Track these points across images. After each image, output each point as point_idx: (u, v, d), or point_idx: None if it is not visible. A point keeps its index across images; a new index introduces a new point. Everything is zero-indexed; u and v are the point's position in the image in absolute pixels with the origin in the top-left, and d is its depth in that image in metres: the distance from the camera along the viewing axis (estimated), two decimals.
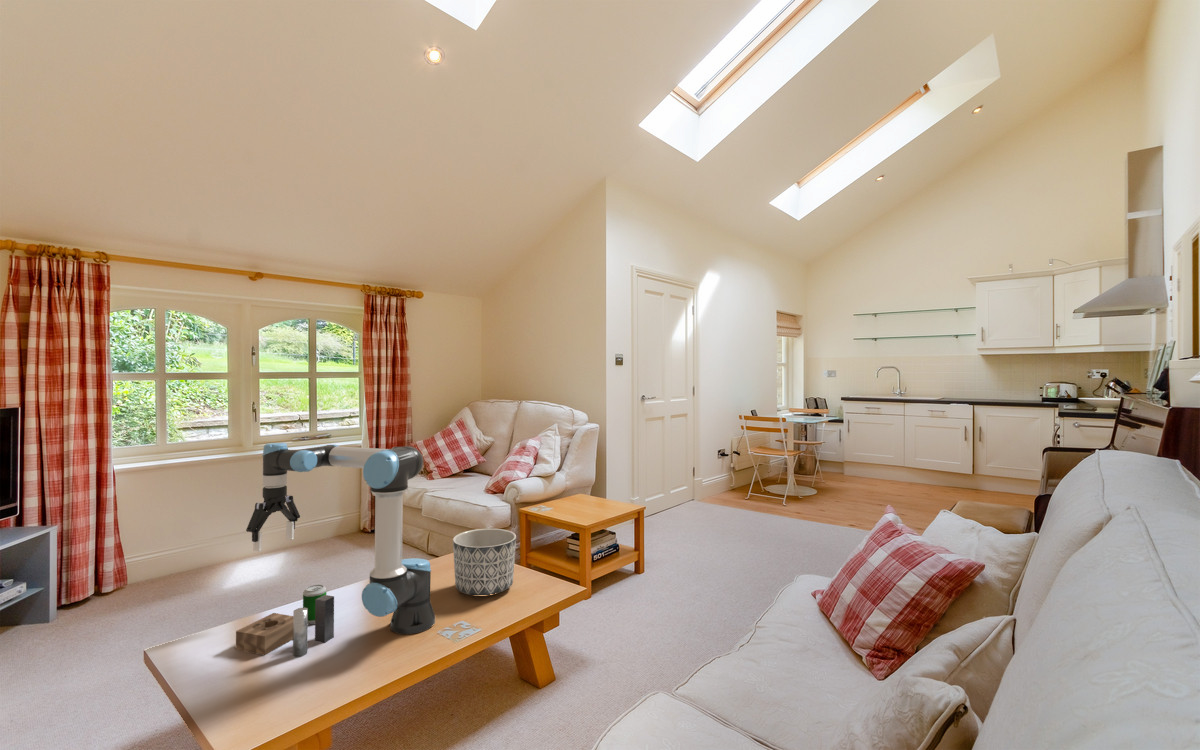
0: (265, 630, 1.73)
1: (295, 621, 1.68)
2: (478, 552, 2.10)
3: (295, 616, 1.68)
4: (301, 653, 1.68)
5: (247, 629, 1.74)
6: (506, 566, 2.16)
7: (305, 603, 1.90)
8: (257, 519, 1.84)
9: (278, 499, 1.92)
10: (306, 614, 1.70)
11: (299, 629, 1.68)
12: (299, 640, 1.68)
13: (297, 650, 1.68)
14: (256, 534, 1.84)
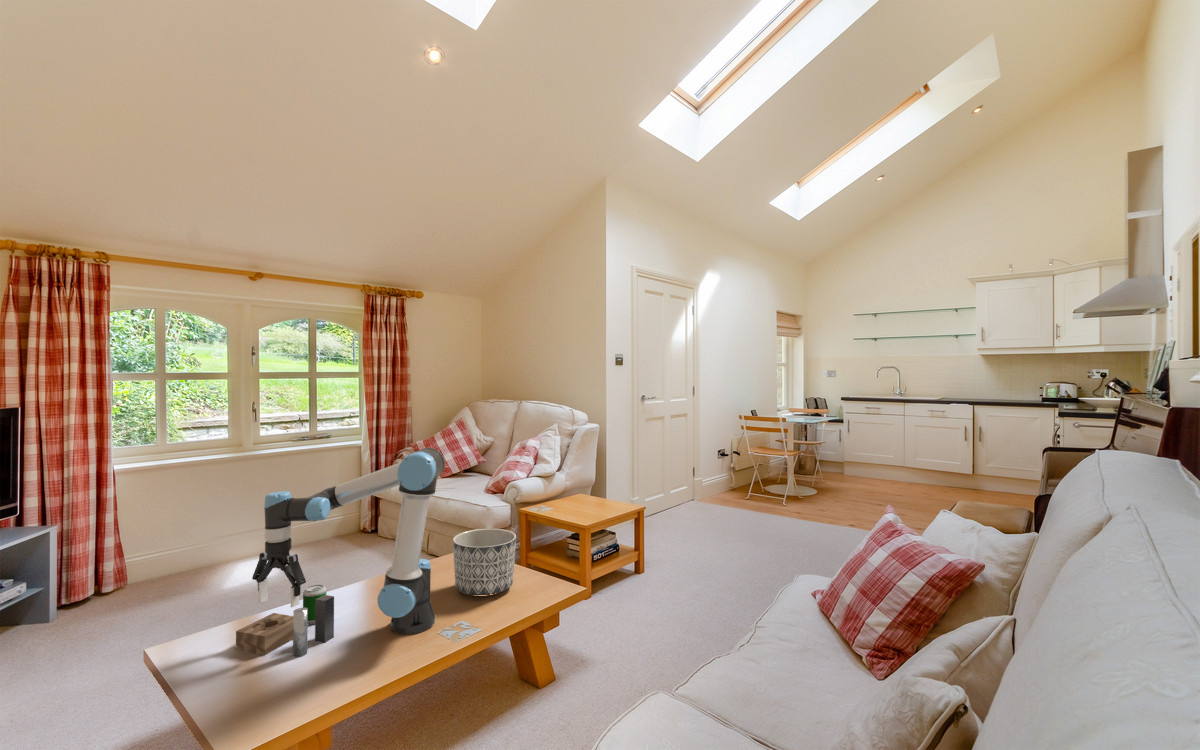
0: (265, 630, 1.73)
1: (295, 621, 1.68)
2: (478, 552, 2.10)
3: (295, 616, 1.68)
4: (301, 653, 1.68)
5: (247, 629, 1.74)
6: (506, 566, 2.16)
7: (305, 603, 1.90)
8: (257, 568, 1.77)
9: (277, 555, 1.75)
10: (306, 614, 1.70)
11: (299, 629, 1.68)
12: (299, 640, 1.68)
13: (297, 650, 1.68)
14: (258, 583, 1.77)
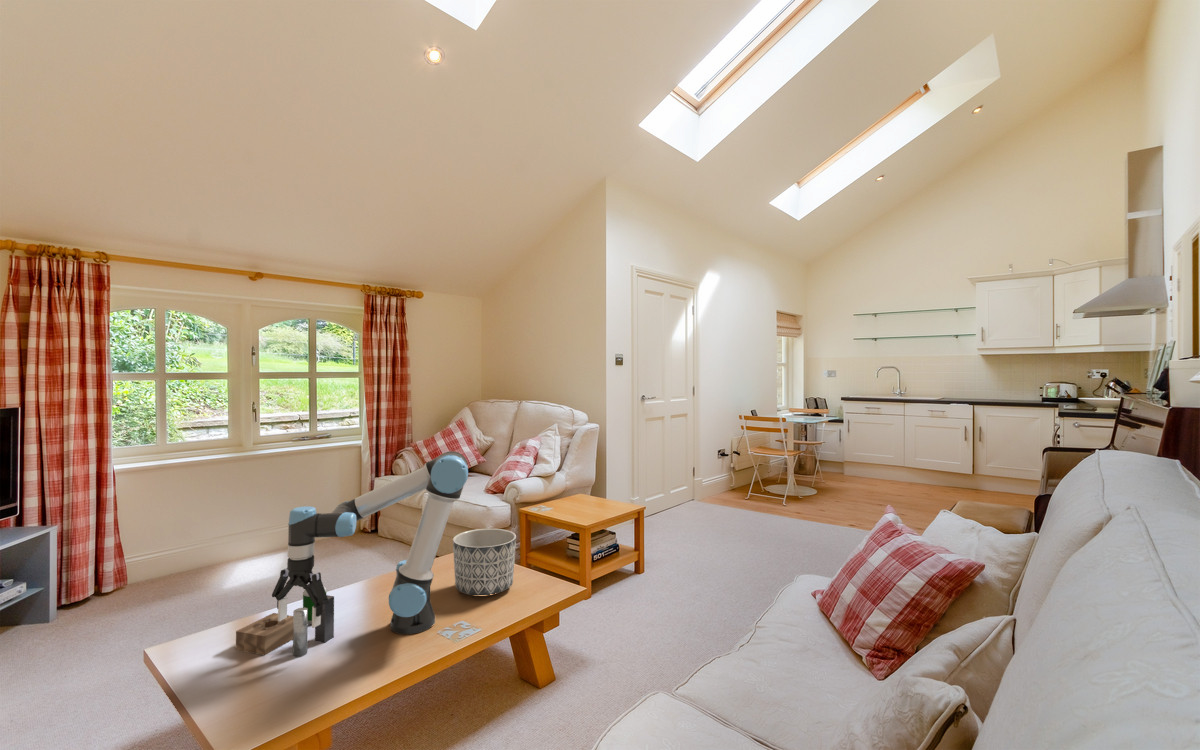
0: (265, 630, 1.73)
1: (295, 621, 1.68)
2: (478, 552, 2.10)
3: (295, 616, 1.68)
4: (301, 653, 1.68)
5: (247, 629, 1.74)
6: (506, 566, 2.16)
7: (305, 603, 1.90)
8: (277, 585, 1.71)
9: (299, 573, 1.69)
10: (306, 614, 1.70)
11: (299, 629, 1.68)
12: (299, 640, 1.68)
13: (297, 650, 1.68)
14: None
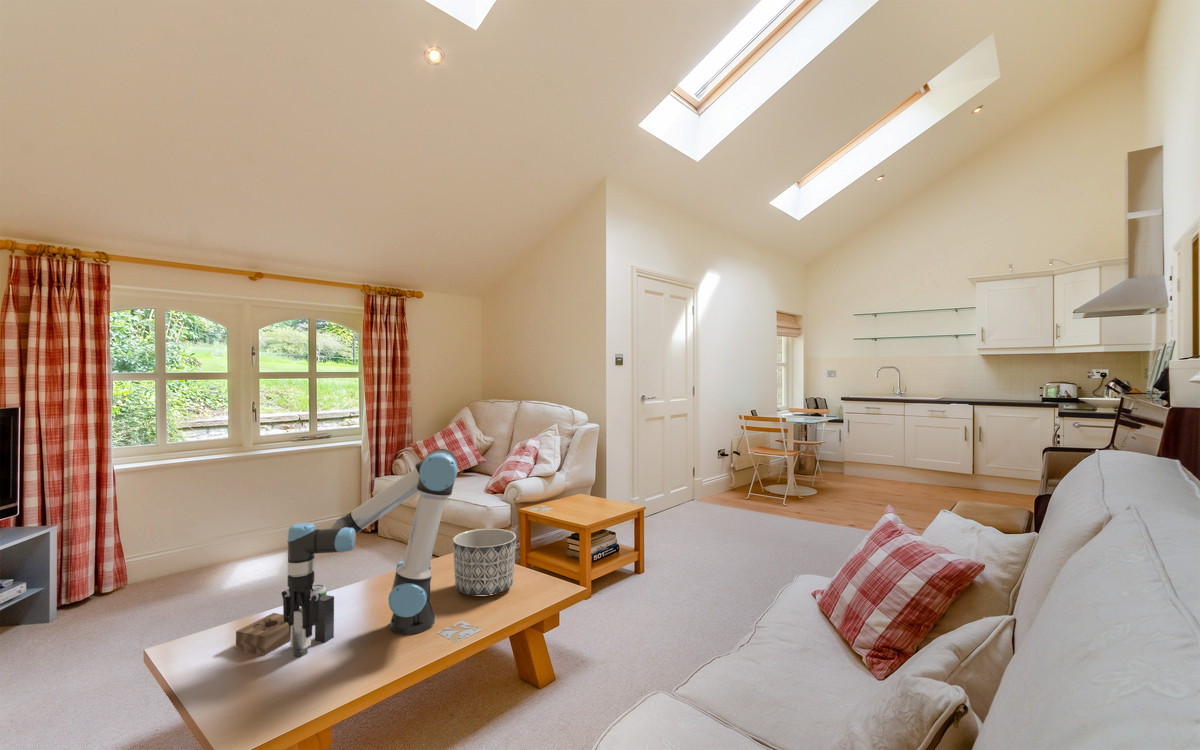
0: (265, 630, 1.73)
1: (295, 621, 1.68)
2: (478, 552, 2.10)
3: (295, 616, 1.68)
4: (301, 653, 1.69)
5: (247, 629, 1.74)
6: (506, 566, 2.16)
7: None
8: (284, 609, 1.70)
9: (299, 589, 1.69)
10: None
11: (299, 629, 1.68)
12: (299, 640, 1.68)
13: (298, 649, 1.68)
14: (290, 626, 1.70)
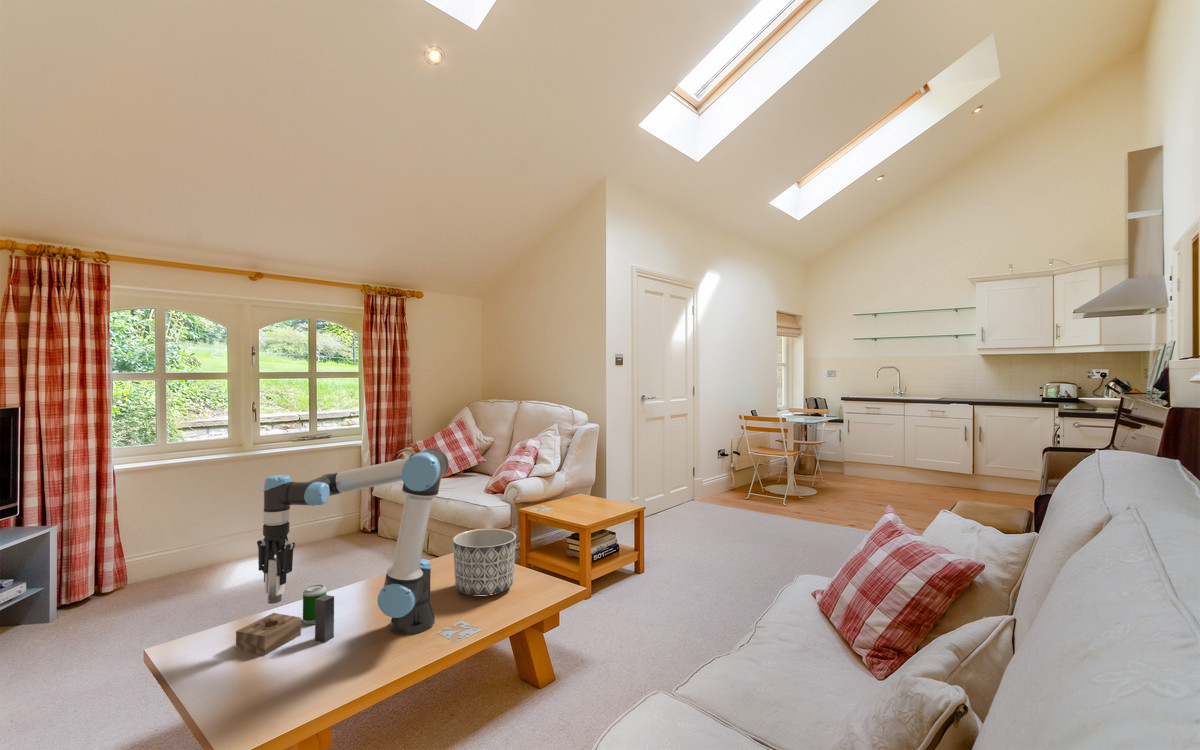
0: (265, 630, 1.73)
1: (270, 569, 1.74)
2: (478, 552, 2.10)
3: (270, 564, 1.74)
4: (275, 600, 1.74)
5: (247, 629, 1.74)
6: (506, 566, 2.16)
7: (305, 603, 1.90)
8: (259, 557, 1.76)
9: (274, 538, 1.75)
10: None
11: (274, 577, 1.74)
12: (273, 587, 1.74)
13: (272, 597, 1.74)
14: None
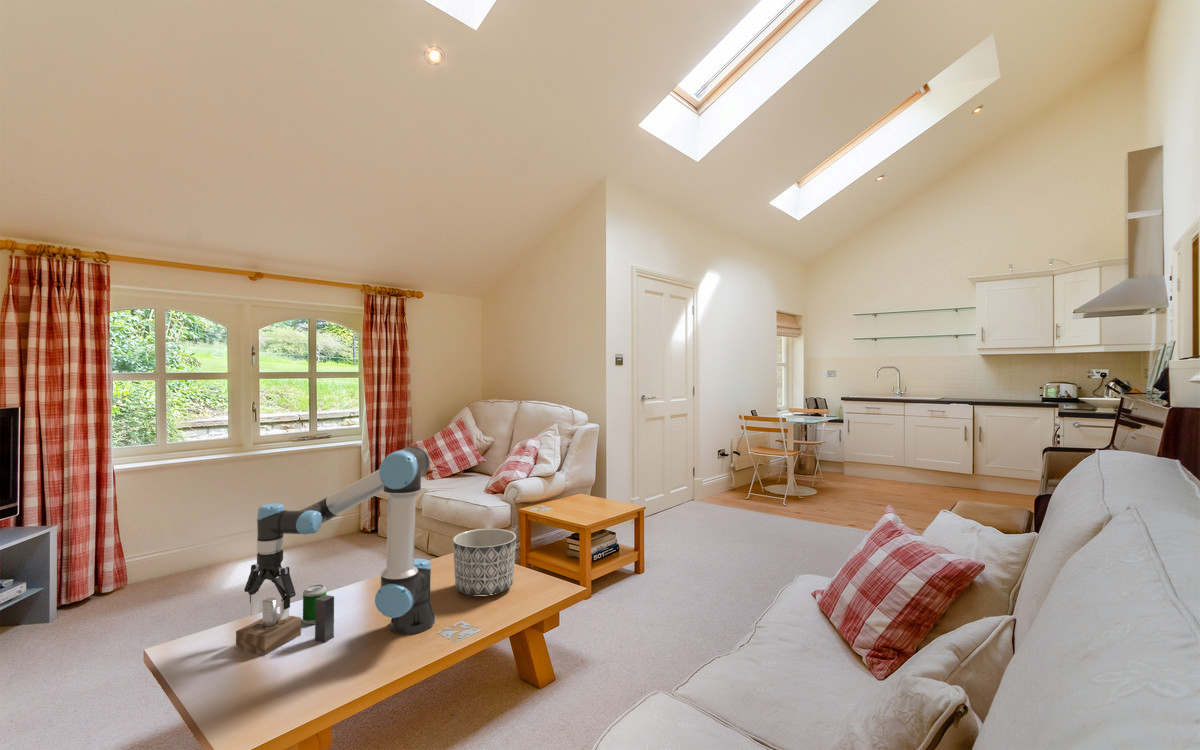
0: (265, 630, 1.73)
1: (264, 610, 1.75)
2: (478, 552, 2.10)
3: (264, 606, 1.75)
4: None
5: (247, 629, 1.74)
6: (506, 566, 2.16)
7: (305, 603, 1.90)
8: (248, 580, 1.78)
9: (268, 567, 1.76)
10: (275, 604, 1.77)
11: (268, 618, 1.75)
12: None
13: None
14: (250, 596, 1.79)
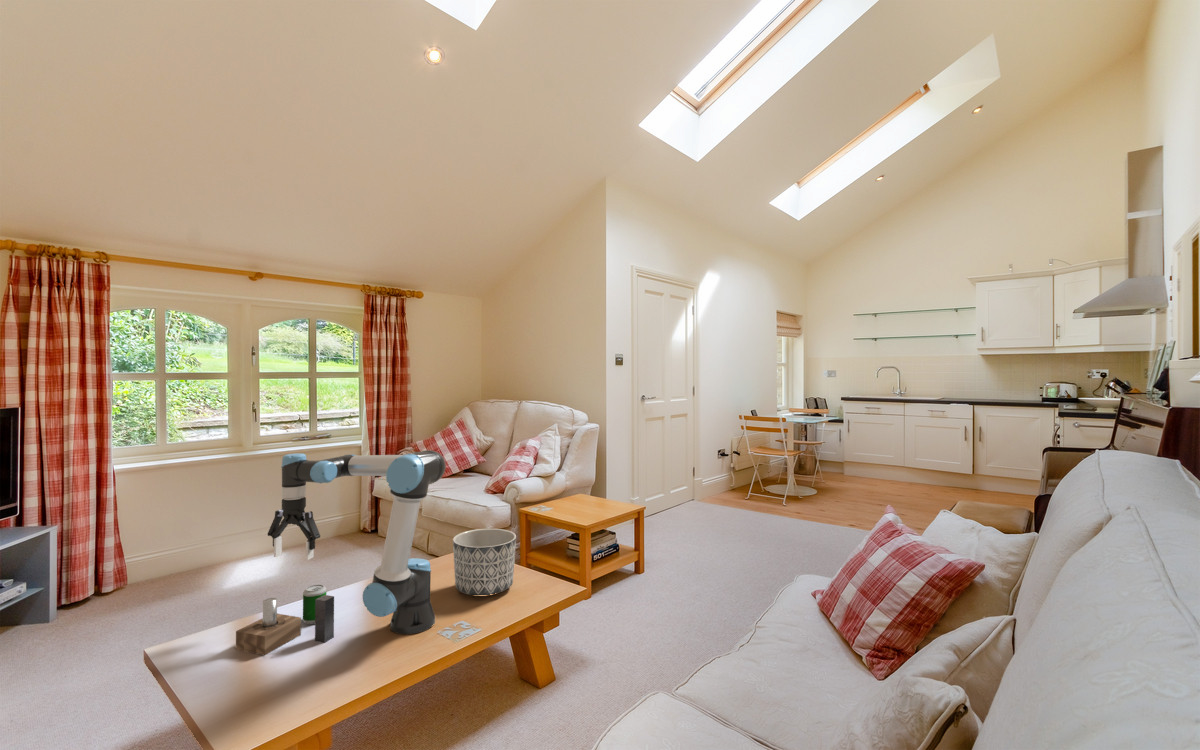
0: (265, 630, 1.73)
1: (264, 610, 1.75)
2: (478, 552, 2.10)
3: (264, 606, 1.75)
4: None
5: (247, 629, 1.74)
6: (506, 566, 2.16)
7: (305, 603, 1.90)
8: (272, 525, 1.89)
9: (292, 512, 1.88)
10: (275, 604, 1.77)
11: (268, 618, 1.75)
12: None
13: None
14: (273, 539, 1.90)
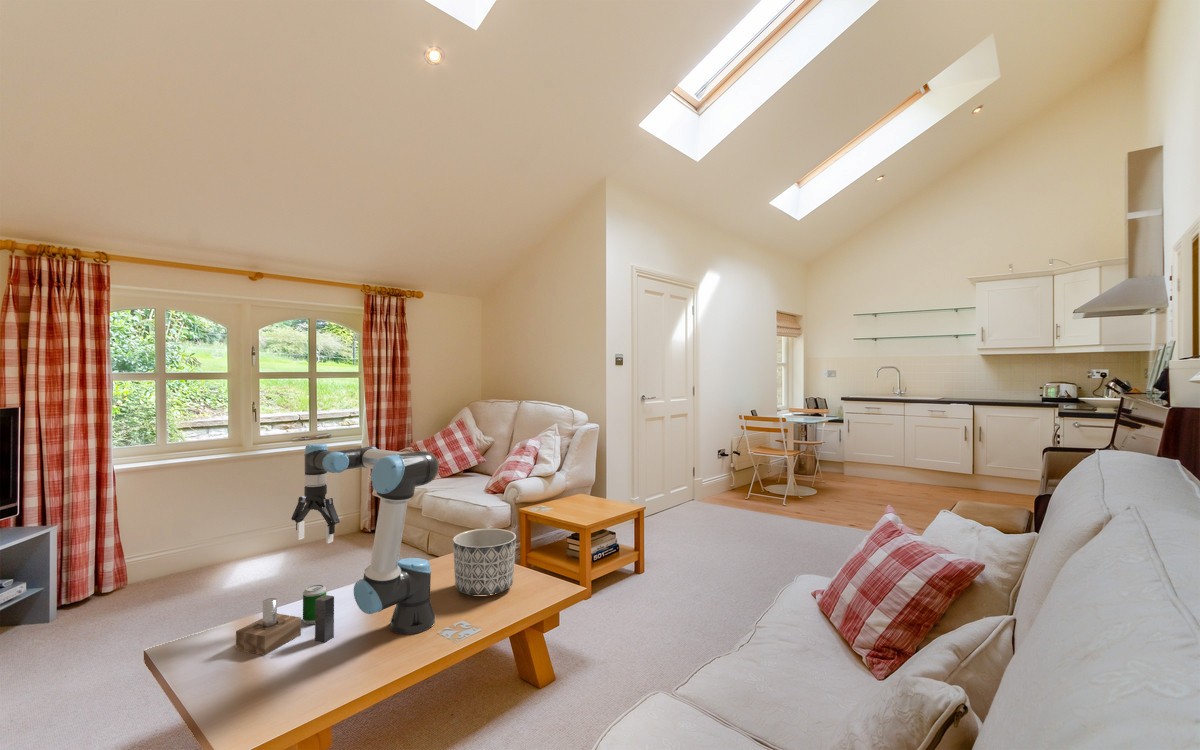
0: (265, 630, 1.73)
1: (264, 610, 1.75)
2: (478, 552, 2.10)
3: (264, 606, 1.75)
4: None
5: (247, 629, 1.74)
6: (506, 566, 2.16)
7: (305, 603, 1.90)
8: (296, 510, 2.02)
9: (314, 498, 2.00)
10: (275, 604, 1.77)
11: (268, 618, 1.75)
12: None
13: None
14: None
